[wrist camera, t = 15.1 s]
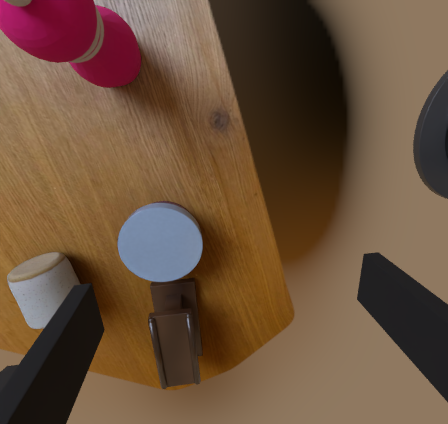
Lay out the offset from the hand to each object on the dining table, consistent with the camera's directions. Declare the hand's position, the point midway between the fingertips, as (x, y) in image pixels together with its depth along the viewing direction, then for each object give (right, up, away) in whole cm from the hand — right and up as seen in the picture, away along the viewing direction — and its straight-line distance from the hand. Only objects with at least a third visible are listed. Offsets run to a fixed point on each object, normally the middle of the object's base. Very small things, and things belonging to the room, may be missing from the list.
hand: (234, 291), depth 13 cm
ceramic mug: (-27, -6, +28) cm, 39 cm away
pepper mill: (-14, +22, +19) cm, 32 cm away
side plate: (-9, 0, +24) cm, 26 cm away
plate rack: (-8, -15, +33) cm, 37 cm away
